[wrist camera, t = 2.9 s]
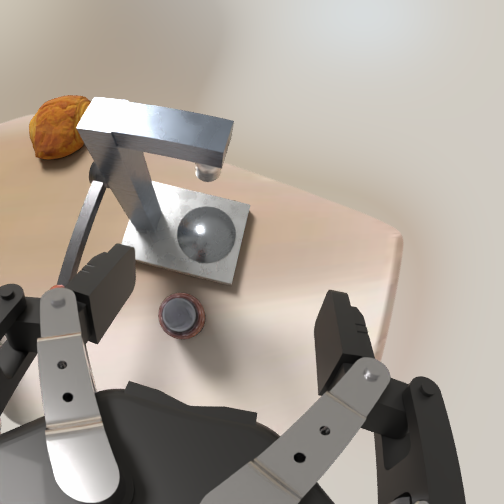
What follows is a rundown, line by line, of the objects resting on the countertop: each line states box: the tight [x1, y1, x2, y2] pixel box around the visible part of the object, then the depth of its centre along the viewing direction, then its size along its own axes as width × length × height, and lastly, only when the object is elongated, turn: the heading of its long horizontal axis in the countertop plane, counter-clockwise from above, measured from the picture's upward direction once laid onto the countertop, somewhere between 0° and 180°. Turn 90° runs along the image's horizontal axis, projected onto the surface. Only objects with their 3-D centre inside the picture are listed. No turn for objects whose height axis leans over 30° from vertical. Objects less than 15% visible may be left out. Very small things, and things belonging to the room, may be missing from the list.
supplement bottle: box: [158, 293, 206, 339], centre depth 40 cm, size 6×6×11 cm
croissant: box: [29, 95, 91, 159], centre depth 47 cm, size 14×16×8 cm
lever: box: [50, 161, 110, 290], centre depth 31 cm, size 19×4×4 cm, turn 168°
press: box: [76, 97, 250, 286], centre depth 35 cm, size 13×18×28 cm
